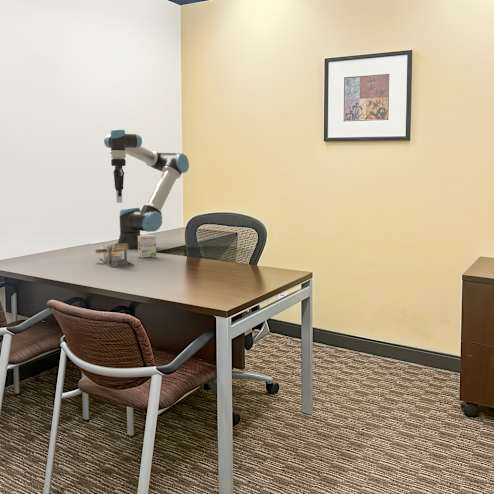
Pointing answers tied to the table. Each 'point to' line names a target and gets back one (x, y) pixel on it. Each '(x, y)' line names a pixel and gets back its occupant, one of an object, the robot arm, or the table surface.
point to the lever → (114, 248)
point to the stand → (118, 262)
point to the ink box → (147, 246)
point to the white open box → (105, 256)
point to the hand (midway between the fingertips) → (119, 202)
